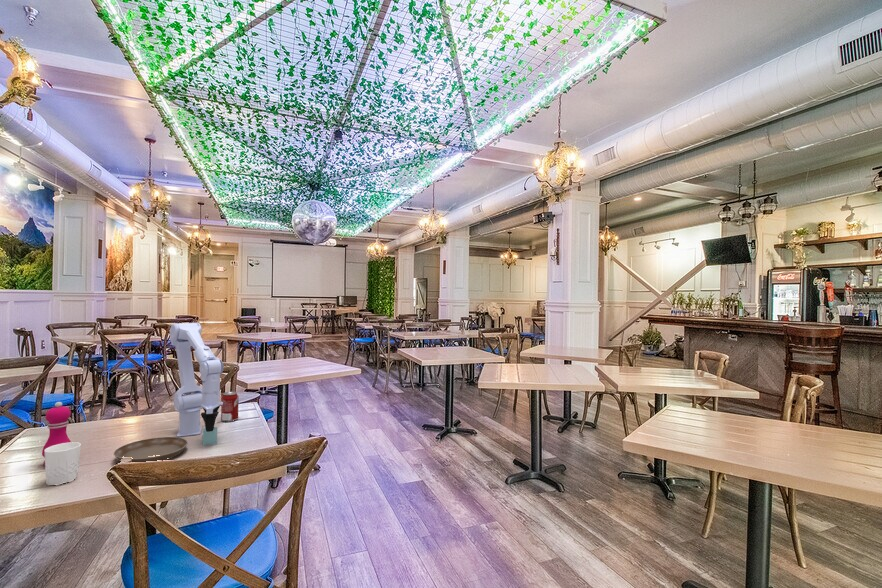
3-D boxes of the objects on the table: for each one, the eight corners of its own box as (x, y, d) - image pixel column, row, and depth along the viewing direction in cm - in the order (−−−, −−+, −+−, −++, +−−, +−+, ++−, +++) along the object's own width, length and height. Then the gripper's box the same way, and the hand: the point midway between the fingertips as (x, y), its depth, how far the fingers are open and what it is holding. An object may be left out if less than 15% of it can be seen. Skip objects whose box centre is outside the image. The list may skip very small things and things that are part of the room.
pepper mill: (70, 457, 137) (71, 397, 137) (74, 463, 132) (75, 401, 132) (40, 464, 131) (41, 402, 131) (43, 470, 127) (44, 406, 127)
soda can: (230, 423, 176) (231, 395, 176) (217, 421, 177) (217, 394, 177) (241, 418, 182) (242, 391, 182) (228, 417, 184) (228, 390, 184)
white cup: (87, 474, 124) (87, 442, 124) (64, 487, 116) (64, 452, 116) (60, 474, 124) (61, 442, 124) (35, 487, 116) (36, 451, 116)
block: (203, 441, 154) (203, 428, 154) (217, 439, 156) (217, 426, 156) (202, 445, 150) (202, 432, 150) (216, 443, 152) (216, 430, 152)
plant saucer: (192, 442, 153) (192, 433, 153) (180, 463, 134) (181, 453, 134) (125, 449, 145) (125, 439, 145) (103, 472, 126) (103, 462, 126)
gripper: (222, 395, 148) (221, 432, 148) (223, 387, 161) (223, 421, 161) (199, 397, 145) (199, 435, 145) (203, 388, 158) (202, 423, 158)
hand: (210, 428), depth 153 cm, fingers open, 7 cm apart
